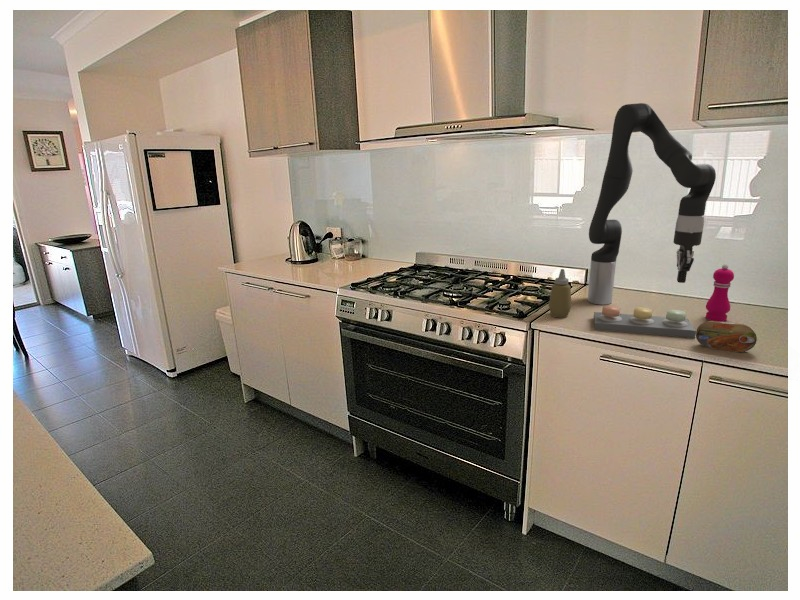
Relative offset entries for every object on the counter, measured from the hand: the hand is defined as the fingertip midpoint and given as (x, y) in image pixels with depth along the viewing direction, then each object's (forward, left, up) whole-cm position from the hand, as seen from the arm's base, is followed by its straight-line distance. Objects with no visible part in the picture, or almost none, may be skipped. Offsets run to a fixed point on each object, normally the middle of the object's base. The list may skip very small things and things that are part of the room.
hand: (680, 282), depth 151 cm
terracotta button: (0, -20, -13) cm, 24 cm away
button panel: (0, -10, -17) cm, 20 cm away
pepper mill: (-16, +16, -17) cm, 28 cm away
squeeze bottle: (-6, -37, -17) cm, 41 cm away
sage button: (0, 0, -13) cm, 13 cm away
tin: (+13, +11, -17) cm, 24 cm away
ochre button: (0, -10, -13) cm, 16 cm away
